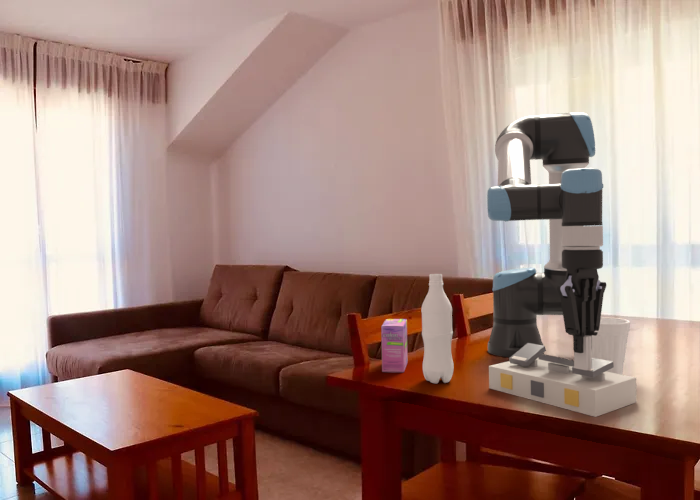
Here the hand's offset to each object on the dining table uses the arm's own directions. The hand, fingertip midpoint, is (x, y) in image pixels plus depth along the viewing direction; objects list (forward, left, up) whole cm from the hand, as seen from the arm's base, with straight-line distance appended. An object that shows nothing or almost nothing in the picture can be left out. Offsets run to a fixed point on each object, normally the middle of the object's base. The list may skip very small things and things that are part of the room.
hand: (582, 368), depth 119 cm
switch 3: (-3, 0, 0) cm, 3 cm away
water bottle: (+8, -33, -8) cm, 35 cm away
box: (+7, -50, -8) cm, 51 cm away
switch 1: (-3, -16, 0) cm, 16 cm away
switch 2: (-3, -8, 0) cm, 9 cm away
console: (-3, -8, -8) cm, 12 cm away
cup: (-24, -10, -8) cm, 28 cm away
